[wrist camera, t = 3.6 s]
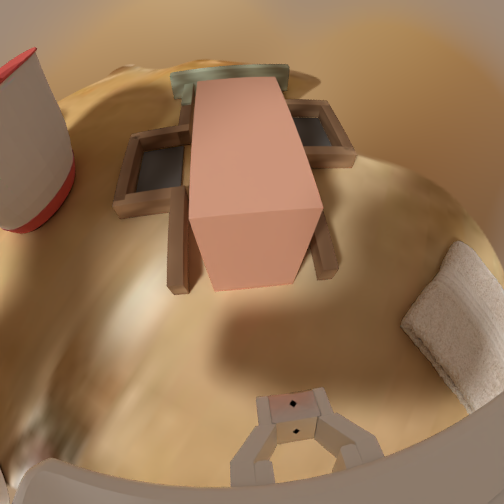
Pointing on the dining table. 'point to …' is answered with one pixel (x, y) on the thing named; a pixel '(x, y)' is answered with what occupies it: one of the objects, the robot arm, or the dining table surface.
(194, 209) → the terracotta block
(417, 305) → the washcloth
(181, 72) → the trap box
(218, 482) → the dining table surface
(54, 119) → the citrus juicer
